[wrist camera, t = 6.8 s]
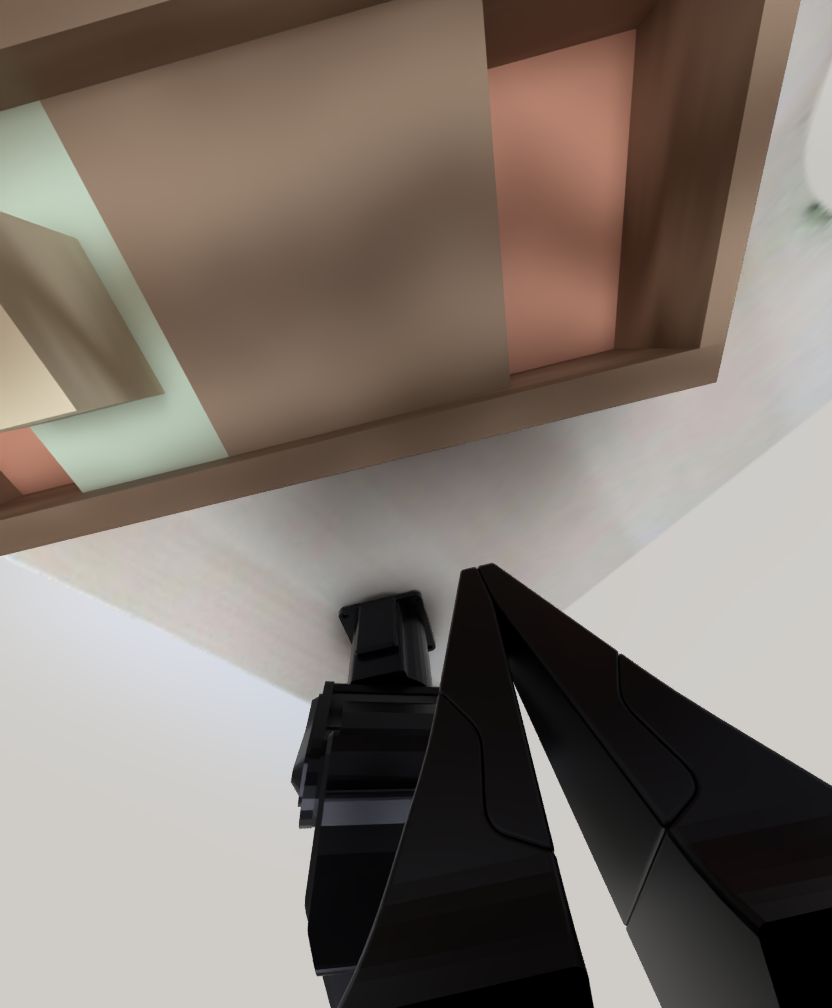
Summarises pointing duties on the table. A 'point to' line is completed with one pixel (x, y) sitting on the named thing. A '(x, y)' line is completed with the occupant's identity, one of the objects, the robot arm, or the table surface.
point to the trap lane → (375, 225)
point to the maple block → (60, 332)
